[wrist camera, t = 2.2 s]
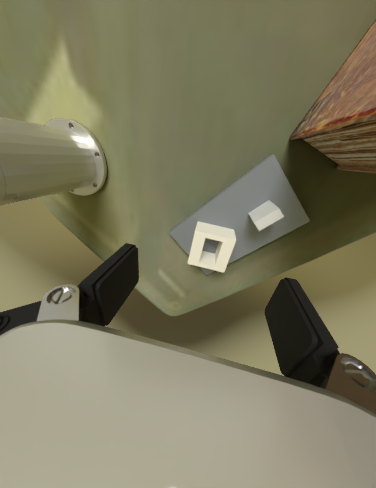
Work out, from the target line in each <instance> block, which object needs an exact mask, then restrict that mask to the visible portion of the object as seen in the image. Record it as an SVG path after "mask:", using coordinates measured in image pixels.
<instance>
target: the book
mask: <svg viewBox="0 0 376 488" xmlns="http://www.w3.org/2000/svg"><path fill="white" fill-rule="evenodd" d="M298 138H301V139H303V140H304V141H306V142H307V143H309V144H310V145H311V146H313V147H314V148H316V149H317V150H319V151H320V152H321V153H323V154H324V155H326V156H327V157H329V158H330V159H332V160H333V161H334V162H336V163H337V164H339V165H338V166H337V167H336V169H338V170H345V171H355V172H366V173H376V20H375V21H374V23H373V24H372V26H371V27H370V28H369V30H368V31H367V32H366V34H365V35H364V36H363V38H362V39H361V41H360V42H359V43H358V45H357V46H356V47H355V49H354V50H353V51H352V53H351V54H350V56H349V57H348V58H347V60H346V61H345V62H344V64H343V65H342V66H341V68H340V69H339V71H338V72H337V73H336V75H335V76H334V77H333V79H332V80H331V81H330V83H329V84H328V86H327V87H326V88H325V90H324V91H323V92H322V94H321V95H320V96H319V98H318V99H317V101H316V102H315V103H314V105H313V106H312V107H311V109H310V110H309V111H308V113H307V114H306V116H305V117H304V118H303V120H302V121H301V122H300V124H299V125H298V126H297V128H296V129H295V131H294V132H293V133H292V135H291V136H290V139H291V140H294V139H298Z"/></svg>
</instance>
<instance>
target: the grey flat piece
mask: <svg viewBox="0 0 376 488" xmlns="http://www.w3.org/2000/svg"><path fill="white" fill-rule="evenodd" d="M198 221H199V222H203V223H208V224H212V225H216V226H221V227H225V228H229V229H234V232H235V236H236V243H235V245H234V248H233V251H232V253H231V256H230V258H229V261H228V264H230V263H232V262H233V261H235V260H237V259H239V258H241V257H243V256H245V255H247V254H249V253H251V252H253V251H254V250H256V249H258V248H260V247H262V246H264V245H266V244H268V243H270V242H272V241H274V240H275V239H277V238H279V237H281V236H283V235H285V234H287V233H289V232H291V231H293V230H295V229H296V228H298V227H300V226H302V225H304V224H306V223H308V222H310V220H309V218H308V216H307V214H306V213H305V211H304V209H303V207H302V205H301V203H300V202H299V200H298V198H297V196H296V194H295V192H294V191H293V189H292V187H291V185H290V183H289V181H288V180H287V178H286V176H285V174H284V172H283V170H282V169H281V167H280V165H279V163H278V161H277V160H276V158H275V156H274V154H271V155H269V156H268V157H267V158H265V159H264V160H263V161H261V162H260V163H259V164H257V165H256V166H255V167H253V168H252V169H251V170H249V171H248V172H247V173H245V174H244V175H243V176H242V177H240V178H239V179H238V180H236V181H235V182H234V183H232V184H231V185H230V186H228V187H227V188H226V189H224V190H223V191H222V192H220V193H219V194H218V195H216V196H215V197H214V198H212V199H211V200H210V201H208V202H207V203H206V204H204V205H203V206H202V207H200V208H199V209H198V210H196V211H195V212H194V213H192V214H191V215H190V216H188V217H187V218H186V219H184V220H183V221H182V222H180V223H179V224H178V225H176V226H175V227H174V228H173V229H171V230H170V231H169V234H170V235H171V236H172V237H173V239H174V240H175V241H176V242H177V243H178V244H179V245H180V247H181V248H182V249H183V250H184V251H185V252H186V253H187V254H188V256H189V255H190V250H191V246H192V242H193V237H194V233H195V229H196V226H197V222H198ZM218 243H219V241H216V240H212V239H208V238H205V241H204V245H203V249H202V251H206V252H210V253H214V254H215V252H216V249H217V246H218ZM228 264H227V265H228ZM198 267H199V266H198ZM199 268H200V269H201V270H202V271H203V272H204V274H205V275H206V276H207V275H209V274H211V273H212V272H214V271H215V270H211V269H207V268H203V267H199Z"/></svg>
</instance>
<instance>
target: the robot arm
mask: <svg viewBox="0 0 376 488" xmlns="http://www.w3.org/2000/svg"><path fill="white" fill-rule="evenodd" d="M106 175H107V165H106V159H105V156H104V153H103V150H102V148H101V146H100V144H99V143H98V141H97V140H96V138H95V137H94V136H93V135H92V133H91V132H90V131H89V130H88V129H86V128H85V127H84V126H83V125H81V124H79V123H78V122H76V121H73V120H70V119H66V118H55V119H51V120H50V121H48V122H47V123H46V124H45V125H40V124H35V123H30V122H24V121H19V120H14V119H9V118H4V117H0V205H5V204H9V203H14V202H18V201H23V200H28V199H32V198H37V197H42V196H46V195H51V194H56V193H60V192H65V191H69V192H70V193H73V194H76V195H81V196H85V195H91V194H94V193H96V192H97V191H99V190H100V189H101V188H102V186H103V185H104V182H105V180H106ZM138 280H139V269H138V248H136V246H135V245H132V244H128V243H126V244H125V245H124V246H122V247H121V248H120V249H119V250H118V251H117V252H115V253H114V254H113V255H112V256H111V257H110V258H108V259H107V260H106V261H105V262H104V263H103V264H101V265H100V266H99V267H98V268H97V269H96V270H95V271H93V272H92V273H91V274H90V275H89V276H88V277H86V279H84V280H83V281H82V282H81V283H80V284H79V285H78V286H76V285H72V284H65V285H61V286H57V287H55V288H53V289H51V290H50V291H48V292H47V293H46V294H45V295H44V297H43V299H42V301H39V302H35V303H32V304H29V305H25V306H21V307H18V308H15V309H11V310H7V311H4V312H0V488H376V375H375V373H374V372H373V371H372V370H371V369H370V368H369V367H368V366H366V365H365V364H364V363H363V362H361V361H360V360H358V359H357V358H355V357H353V356H351V355H348V354H343V353H342V354H340V353H339V351H338V350H337V348H338V345H337V344H336V342H335V341H334V339H333V337H332V336H331V334H330V332H329V331H328V329H327V328H326V326H325V324H324V323H323V321H322V320H321V318H320V316H319V315H318V313H317V312H316V310H315V308H314V307H313V305H312V304H311V302H310V300H309V299H308V297H307V296H306V294H305V292H304V291H303V289H302V287H301V286H300V284H299V283H298V281H297V280H295V279H290V278H284V279H282V280H280V282H279V284H278V286H277V288H276V290H275V292H274V294H273V295H272V297H271V299H270V301H269V303H268V305H267V306H266V309H265V316H266V319H267V323H268V327H269V330H270V334H271V338H272V341H273V345H274V349H275V353H276V356H277V360H278V363H279V367H280V371H281V373H282V374H283V375H284V376H282V375H278V374H275V373H271V372H267V371H264V370H261V369H257V368H254V367H250V366H247V365H243V364H239V363H236V362H233V361H229V360H225V359H222V358H218V357H215V356H211V355H208V354H204V353H200V352H197V351H193V350H190V349H186V348H182V347H179V346H175V345H172V344H168V343H164V342H161V341H157V340H153V339H150V338H146V337H142V336H139V335H135V334H131V333H128V332H124V331H120V330H116V329H112V328H108V327H104V326H105V325H108V324H109V323H110V322H111V320H112V319H113V317H114V316H115V315H116V313H117V312H118V310H119V309H120V307H121V306H122V304H123V303H124V302H125V300H126V299H127V297H128V296H129V294H130V293H131V291H132V290H133V288H134V287H135V286H136V284H137V283H138Z"/></svg>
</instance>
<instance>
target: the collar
mask: <svg viewBox="0 0 376 488" xmlns="http://www.w3.org/2000/svg"><path fill="white" fill-rule="evenodd" d="M205 238H208V239H212V240H216V241H219V243H218V246H217V249H216V252H215V254H214V253H210V252H206V251H202V249H203V245H204V241H205ZM235 243H236V236H235V232H234V229H229V228H225V227H221V226H216V225H212V224H208V223H203V222H199V221H198V222H197V226H196V229H195V233H194V237H193V242H192V246H191V250H190V255H189V259H188V264H191V265H195V266H199V267H203V268H207V269H211V270H215V271H219V272H223V273H224V272H225V269H226V266H227V264H228V261H229V258H230V256H231V253H232V251H233V248H234V245H235Z"/></svg>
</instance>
